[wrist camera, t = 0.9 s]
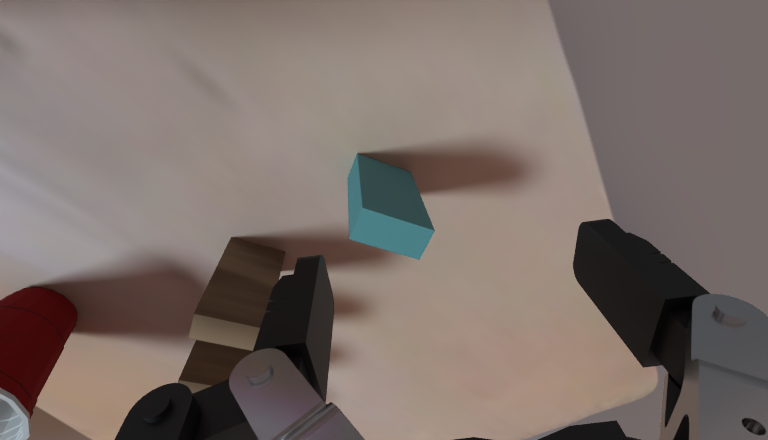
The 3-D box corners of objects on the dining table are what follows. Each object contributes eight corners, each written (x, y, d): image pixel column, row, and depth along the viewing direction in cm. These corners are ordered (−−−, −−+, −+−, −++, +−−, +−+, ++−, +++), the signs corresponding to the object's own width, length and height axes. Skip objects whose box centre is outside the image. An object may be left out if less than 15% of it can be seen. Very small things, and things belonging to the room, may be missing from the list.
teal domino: (400, 195, 34) (419, 259, 26) (347, 178, 33) (349, 239, 24) (410, 172, 33) (434, 230, 25) (357, 153, 32) (362, 207, 23)
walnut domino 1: (278, 271, 37) (258, 352, 29) (225, 257, 36) (188, 338, 27) (285, 251, 36) (266, 329, 28) (231, 237, 35) (193, 313, 26)
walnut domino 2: (261, 322, 40) (238, 409, 31) (211, 311, 39) (174, 399, 30) (267, 305, 39) (245, 391, 30) (216, 294, 38) (178, 380, 29)
